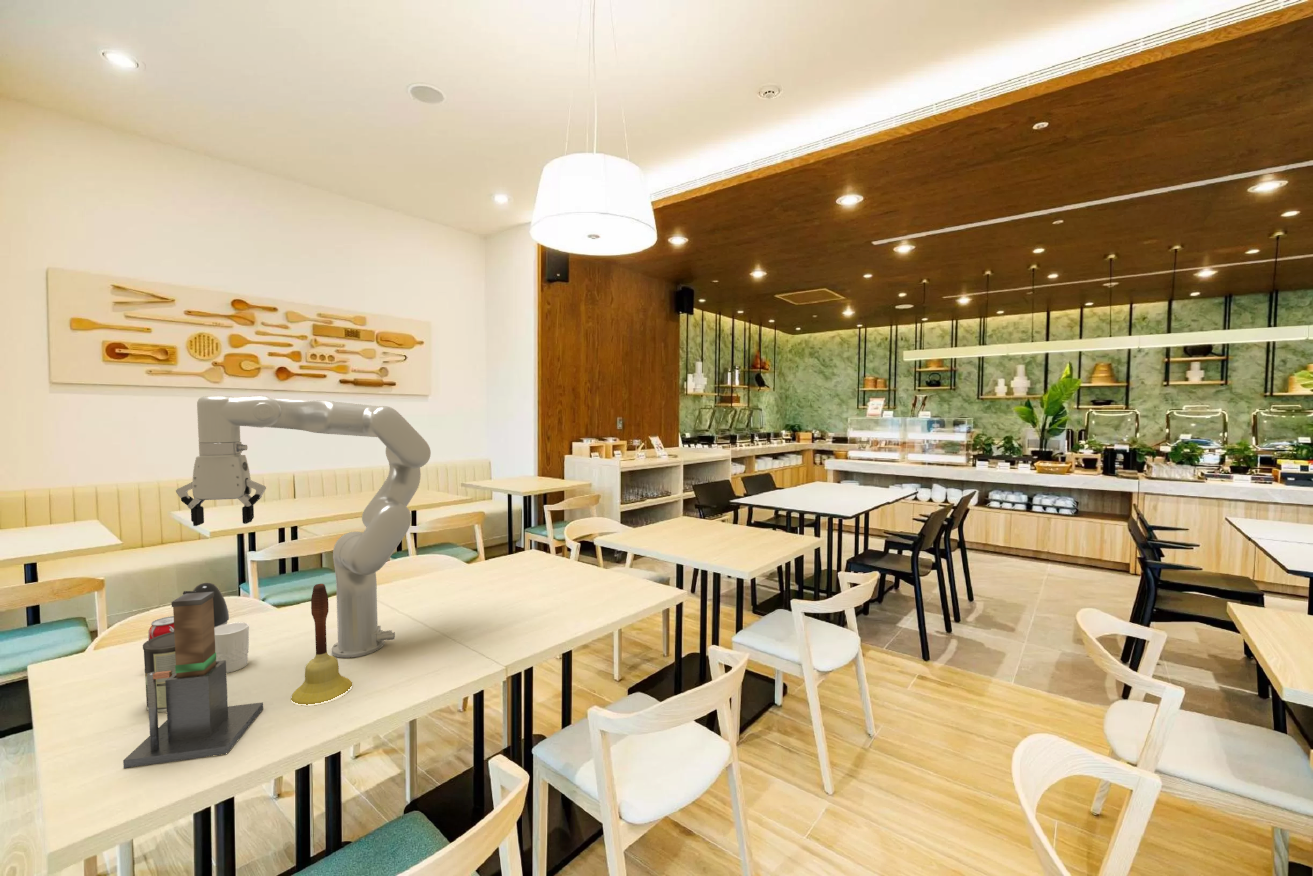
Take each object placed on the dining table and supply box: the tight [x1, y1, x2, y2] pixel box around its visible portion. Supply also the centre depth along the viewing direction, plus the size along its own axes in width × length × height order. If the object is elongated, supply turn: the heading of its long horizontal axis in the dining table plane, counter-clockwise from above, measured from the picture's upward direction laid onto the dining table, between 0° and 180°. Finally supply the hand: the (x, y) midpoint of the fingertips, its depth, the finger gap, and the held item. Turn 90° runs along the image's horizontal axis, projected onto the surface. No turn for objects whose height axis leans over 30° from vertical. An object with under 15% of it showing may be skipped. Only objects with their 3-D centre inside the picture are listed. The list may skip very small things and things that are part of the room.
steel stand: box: [122, 660, 264, 769], centre depth 109 cm, size 16×16×16 cm
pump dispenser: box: [182, 582, 230, 628], centre depth 157 cm, size 10×10×15 cm
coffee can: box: [142, 632, 176, 713], centre depth 122 cm, size 10×10×14 cm
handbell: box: [290, 583, 353, 705], centre depth 126 cm, size 12×12×25 cm
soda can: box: [147, 615, 174, 641], centre depth 138 cm, size 7×7×12 cm
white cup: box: [214, 621, 250, 674], centre depth 138 cm, size 8×8×10 cm
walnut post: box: [171, 592, 216, 678], centre depth 108 cm, size 5×5×19 cm
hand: (223, 523), depth 127 cm, fingers open, 9 cm apart
